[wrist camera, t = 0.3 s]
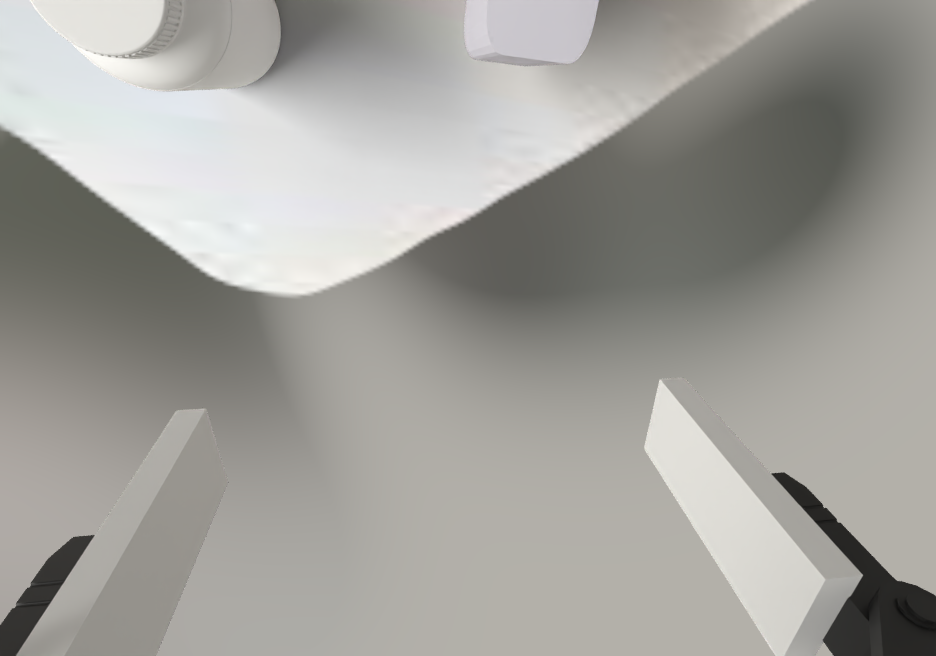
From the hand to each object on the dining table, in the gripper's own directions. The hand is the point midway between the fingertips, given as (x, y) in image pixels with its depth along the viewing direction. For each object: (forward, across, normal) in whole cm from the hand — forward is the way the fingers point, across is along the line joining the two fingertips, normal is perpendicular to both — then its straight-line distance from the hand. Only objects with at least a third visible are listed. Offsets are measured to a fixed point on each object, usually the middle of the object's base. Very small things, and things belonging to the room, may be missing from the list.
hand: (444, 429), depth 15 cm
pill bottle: (+28, -12, +12) cm, 33 cm away
